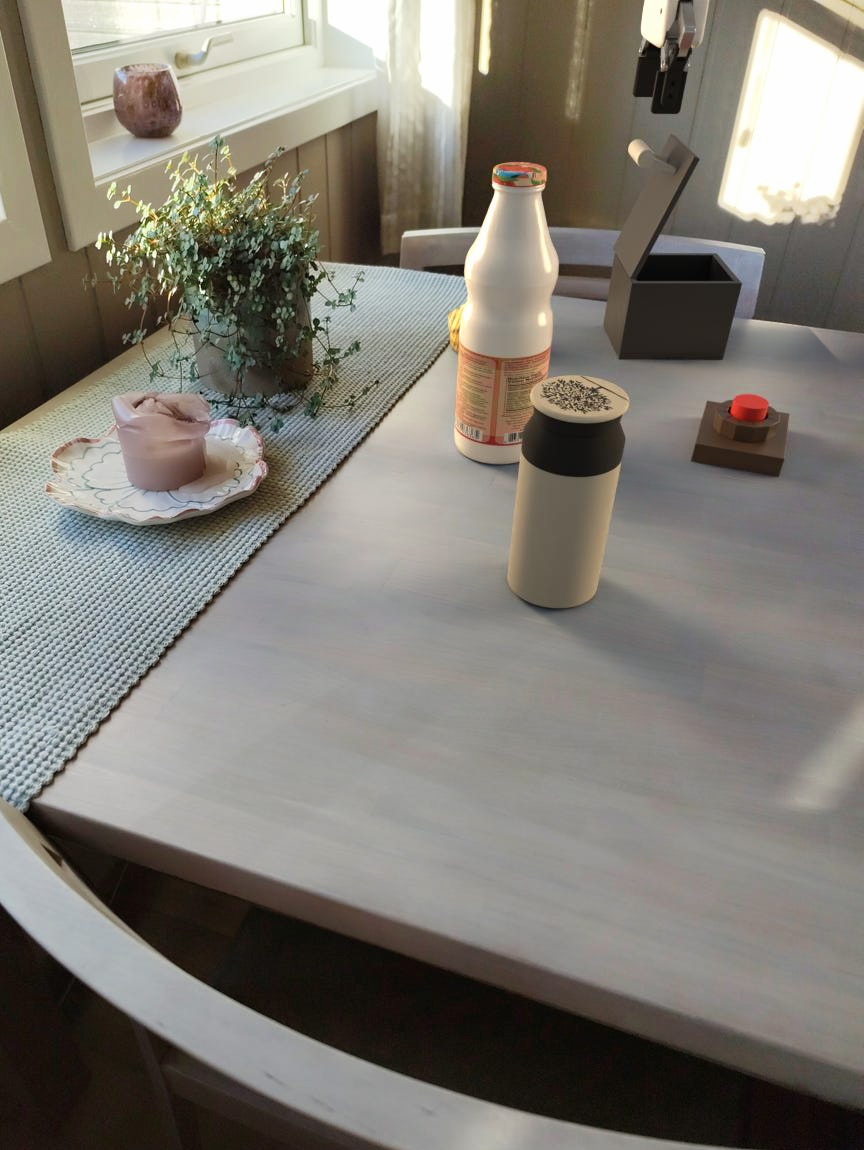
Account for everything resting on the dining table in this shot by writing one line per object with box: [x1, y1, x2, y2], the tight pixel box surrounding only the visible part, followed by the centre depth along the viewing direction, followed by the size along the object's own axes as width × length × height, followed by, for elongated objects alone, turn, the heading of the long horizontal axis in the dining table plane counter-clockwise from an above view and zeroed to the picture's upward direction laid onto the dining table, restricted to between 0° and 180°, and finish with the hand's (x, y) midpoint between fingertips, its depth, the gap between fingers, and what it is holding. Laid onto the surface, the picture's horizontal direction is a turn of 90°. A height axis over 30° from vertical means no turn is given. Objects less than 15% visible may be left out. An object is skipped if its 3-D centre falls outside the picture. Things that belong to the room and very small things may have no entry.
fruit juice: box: [453, 161, 560, 465], centre depth 90 cm, size 9×9×28 cm
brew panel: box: [690, 399, 790, 478], centre depth 98 cm, size 11×9×4 cm
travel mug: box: [506, 374, 630, 609], centre depth 74 cm, size 8×8×18 cm
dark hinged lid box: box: [602, 252, 743, 361], centre depth 118 cm, size 14×12×10 cm
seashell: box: [447, 302, 466, 354], centre depth 118 cm, size 10×7×8 cm
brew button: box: [730, 393, 770, 422], centre depth 96 cm, size 4×4×2 cm
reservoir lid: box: [612, 133, 701, 280], centre depth 110 cm, size 14×12×6 cm
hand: (654, 104), depth 103 cm, fingers open, 9 cm apart
